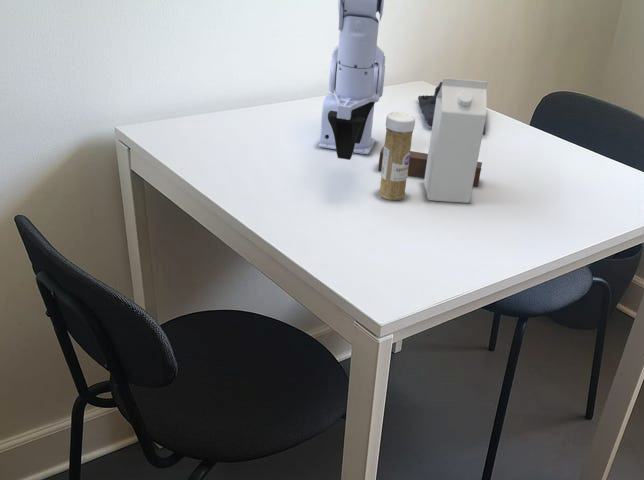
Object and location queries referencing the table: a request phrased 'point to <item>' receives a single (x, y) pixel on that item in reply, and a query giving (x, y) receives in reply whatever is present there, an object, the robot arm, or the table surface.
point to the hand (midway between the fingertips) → (349, 150)
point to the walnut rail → (419, 166)
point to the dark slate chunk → (430, 106)
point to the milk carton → (455, 140)
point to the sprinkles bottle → (396, 155)
